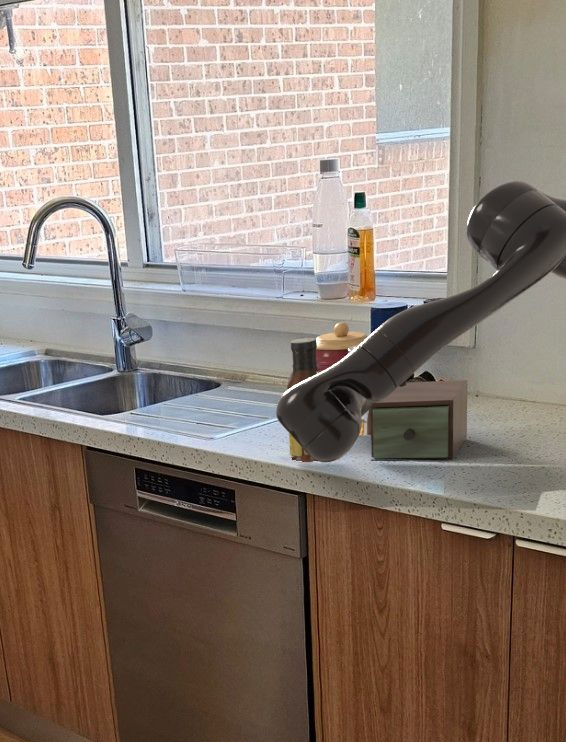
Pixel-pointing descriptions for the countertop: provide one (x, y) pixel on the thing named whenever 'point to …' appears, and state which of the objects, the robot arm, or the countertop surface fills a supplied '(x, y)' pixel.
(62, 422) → the countertop surface
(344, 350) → the kitchen canister
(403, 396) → the cabinet
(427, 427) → the drawer
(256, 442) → the countertop surface
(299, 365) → the sauce bottle
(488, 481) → the countertop surface
